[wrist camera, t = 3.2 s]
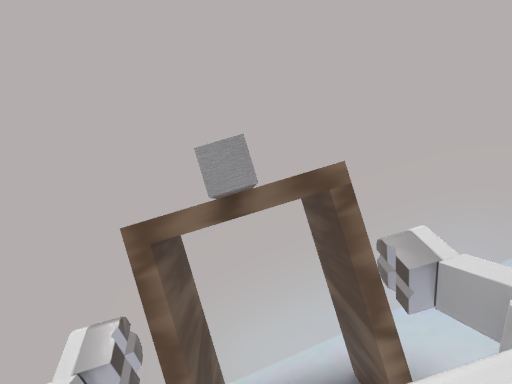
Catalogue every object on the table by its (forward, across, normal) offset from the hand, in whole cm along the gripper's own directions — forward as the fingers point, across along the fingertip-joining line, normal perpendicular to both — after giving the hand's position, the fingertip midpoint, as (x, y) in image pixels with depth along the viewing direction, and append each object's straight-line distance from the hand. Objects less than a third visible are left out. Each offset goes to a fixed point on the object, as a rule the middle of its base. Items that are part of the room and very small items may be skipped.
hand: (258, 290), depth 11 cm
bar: (+18, 0, +6) cm, 19 cm away
